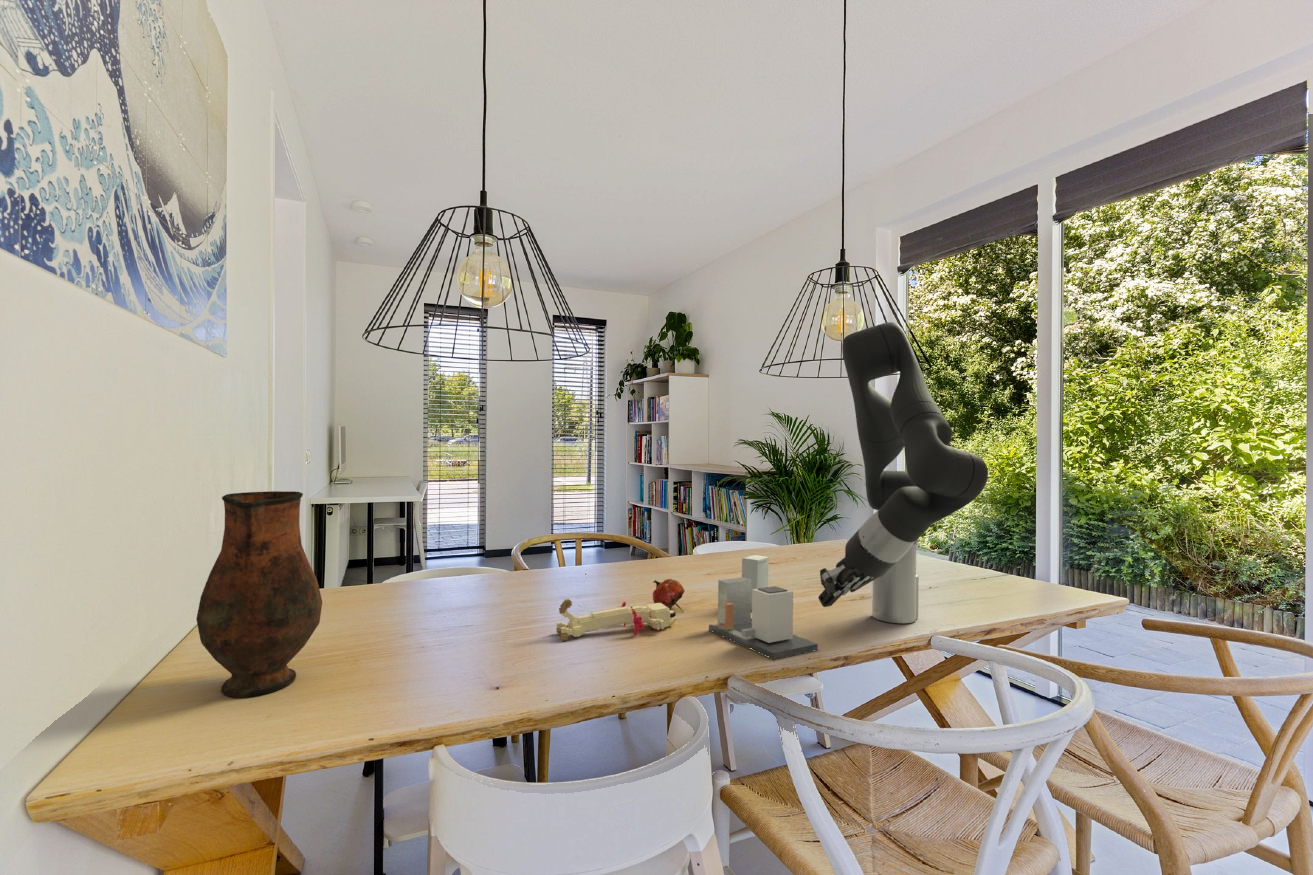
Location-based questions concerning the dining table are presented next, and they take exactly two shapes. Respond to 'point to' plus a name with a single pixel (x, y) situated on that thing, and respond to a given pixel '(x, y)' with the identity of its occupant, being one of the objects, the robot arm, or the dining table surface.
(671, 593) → the pomegranate
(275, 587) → the brown clay vase
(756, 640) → the base
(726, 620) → the peak pointer
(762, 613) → the dark-topped white block
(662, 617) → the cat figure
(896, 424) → the robot arm
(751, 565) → the skincare box
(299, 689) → the dining table surface
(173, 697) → the dining table surface
